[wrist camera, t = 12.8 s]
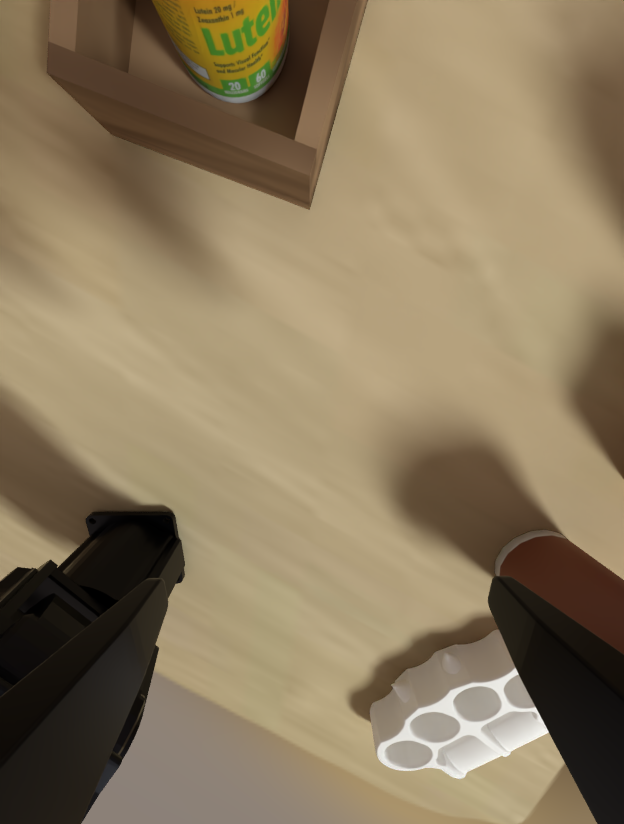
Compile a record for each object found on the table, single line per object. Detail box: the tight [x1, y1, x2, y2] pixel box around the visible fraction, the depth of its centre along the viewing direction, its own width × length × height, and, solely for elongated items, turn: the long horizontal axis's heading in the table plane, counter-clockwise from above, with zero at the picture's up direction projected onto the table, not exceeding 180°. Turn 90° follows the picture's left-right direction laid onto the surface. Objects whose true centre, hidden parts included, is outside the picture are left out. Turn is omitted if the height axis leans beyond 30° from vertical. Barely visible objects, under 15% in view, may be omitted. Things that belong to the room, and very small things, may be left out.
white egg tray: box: [370, 630, 549, 779], centre depth 28 cm, size 3×18×15 cm
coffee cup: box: [495, 530, 624, 654], centre depth 18 cm, size 9×9×12 cm
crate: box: [47, 0, 368, 210], centre depth 13 cm, size 11×11×4 cm
